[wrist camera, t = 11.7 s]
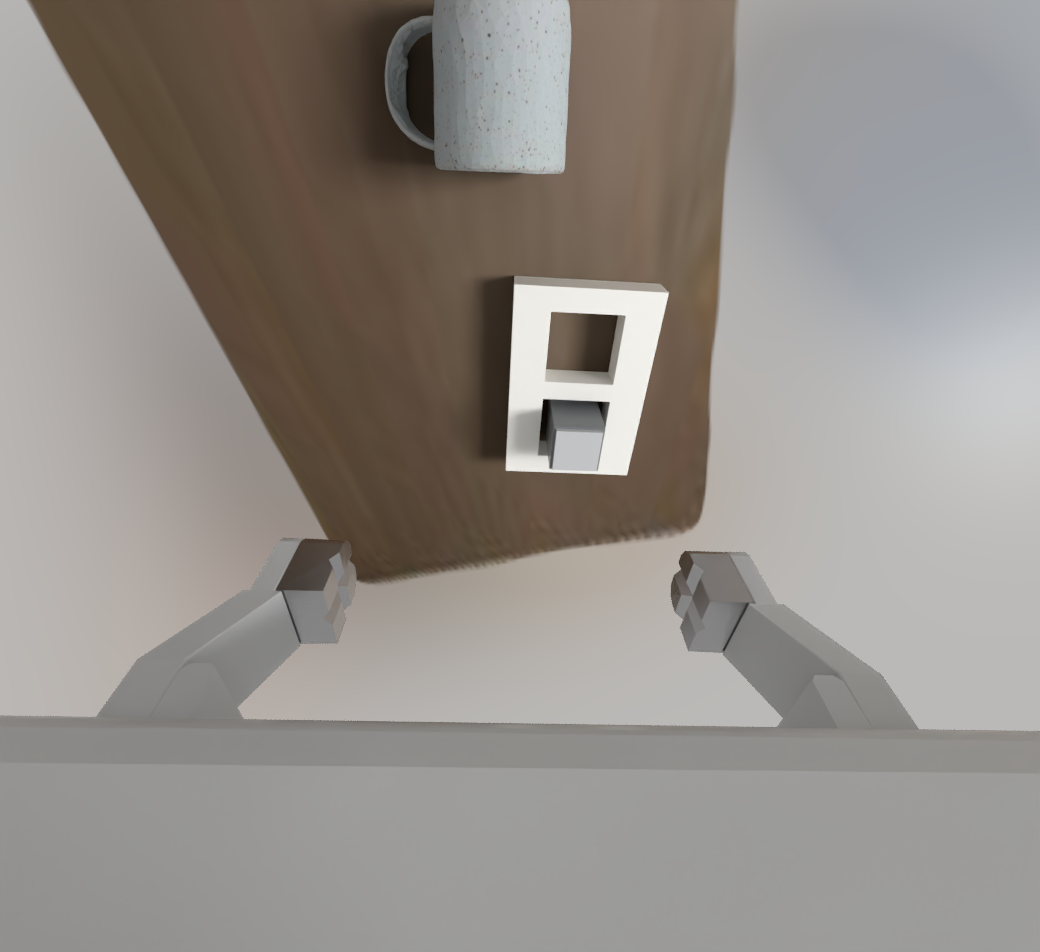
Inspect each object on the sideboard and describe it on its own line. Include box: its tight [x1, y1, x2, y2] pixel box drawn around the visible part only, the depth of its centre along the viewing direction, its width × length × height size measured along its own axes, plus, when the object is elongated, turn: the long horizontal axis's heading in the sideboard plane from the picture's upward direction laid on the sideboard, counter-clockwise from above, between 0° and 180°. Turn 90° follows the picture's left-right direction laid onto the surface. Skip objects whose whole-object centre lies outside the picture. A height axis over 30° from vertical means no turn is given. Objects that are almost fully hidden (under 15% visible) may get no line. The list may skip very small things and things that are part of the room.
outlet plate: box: [506, 276, 669, 475], centre depth 39 cm, size 16×11×2 cm
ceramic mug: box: [385, 0, 571, 174], centre depth 26 cm, size 11×8×8 cm
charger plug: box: [546, 399, 605, 471], centre depth 40 cm, size 4×4×6 cm
